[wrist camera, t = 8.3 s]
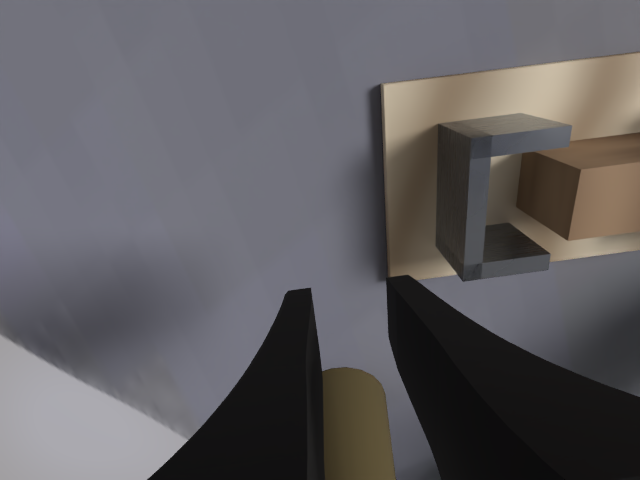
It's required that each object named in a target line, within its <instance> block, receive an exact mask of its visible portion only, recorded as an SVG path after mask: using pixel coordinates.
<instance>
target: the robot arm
mask: <svg viewBox="0 0 640 480" xmlns="http://www.w3.org/2000/svg"><path fill="white" fill-rule="evenodd" d="M386 285H387V309H388V333H389V340H390V344H391V347H392V351H393V355H394V358H395V361H396V365H397V368H398V371H399V374H400V376H401V378H402V381H403V383H404V386H405V388H406V390H407V393H408V395H409V398H410V400H411V402H412V405H413V407H414V409H415V412H416V414H417V416H418V419H419V421H420V424H421V426H422V428H423V431H424V433H425V435H426V438H427V440H428V442H429V445H430V447H431V450H432V453H433V455H434V458H435V461H436V464H437V467H438V470H439V473H440V476H441V479H442V480H640V397H638V396H635V395H632V394H629V393H626V392H624V391H621V390H618V389H615V388H612V387H609V386H607V385H604V384H601V383H599V382H596V381H594V380H591V379H588V378H586V377H583V376H581V375H579V374H576V373H574V372H572V371H569V370H567V369H565V368H562V367H560V366H557V365H555V364H553V363H550V362H548V361H546V360H544V359H542V358H540V357H538V356H535V355H533V354H531V353H529V352H527V351H526V350H524V349H522V348H520V347H518V346H516V345H514V344H512V343H510V342H508V341H506V340H504V339H503V338H501V337H499V336H497V335H495V334H494V333H492V332H490V331H489V330H487V329H485V328H484V327H482V326H481V325H479V324H477V323H476V322H474V321H472V320H471V319H469V318H468V317H466V316H465V315H463V314H462V313H460V312H459V311H457V310H456V309H454V308H453V307H451V306H450V305H449V304H447V303H446V302H444V301H443V300H442V299H440V298H439V297H438V296H436V295H435V294H434V293H432V292H431V291H430V290H428V289H427V288H426V287H424V286H423V285H422V284H420V283H419V282H418V281H416V280H415V279H414V278H412V277H411V276H410V275H401V276H394V277H387V278H386ZM147 480H325V469H324V417H323V376H322V368H321V359H320V351H319V343H318V336H317V329H316V322H315V315H314V308H313V301H312V293H311V288H305V289H298V290H291V291H288V292H287V293H286V294H285V296H284V300H283V302H282V305H281V308H280V310H279V312H278V314H277V317H276V319H275V321H274V323H273V325H272V327H271V329H270V331H269V333H268V335H267V337H266V339H265V340H264V342H263V344H262V346H261V347H260V349H259V351H258V352H257V354H256V355H255V357H254V359H253V360H252V362H251V364H250V365H249V367H248V368H247V370H246V371H245V373H244V374H243V376H242V377H241V379H240V380H239V381H238V383H237V384H236V385H235V387H234V388H233V389H232V391H231V392H230V393H229V395H228V396H227V397H226V399H225V400H224V401H223V402H222V403H221V405H220V406H219V407H218V408H217V409H216V411H215V412H214V413H213V414H212V415H211V416H210V418H209V419H208V420H207V421H206V422H205V423H204V424H203V426H202V427H201V428H200V429H199V430H198V431H197V432H196V433H195V434H194V435H193V436H192V437H191V438H190V439H189V440H188V441H187V442H186V443H185V444H184V445H183V446H182V447H181V448H180V449H179V450H178V451H177V452H176V453H175V454H174V455H173V456H172V457H171V458H170V459H169V460H168V461H167V462H166V463H165V464H164V465H163V466H162V467H161V468H160V469H159V470H157V471H156V472H155V473H154V474H153V475H152V476H151V477H150V478H149V479H147Z"/></svg>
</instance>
